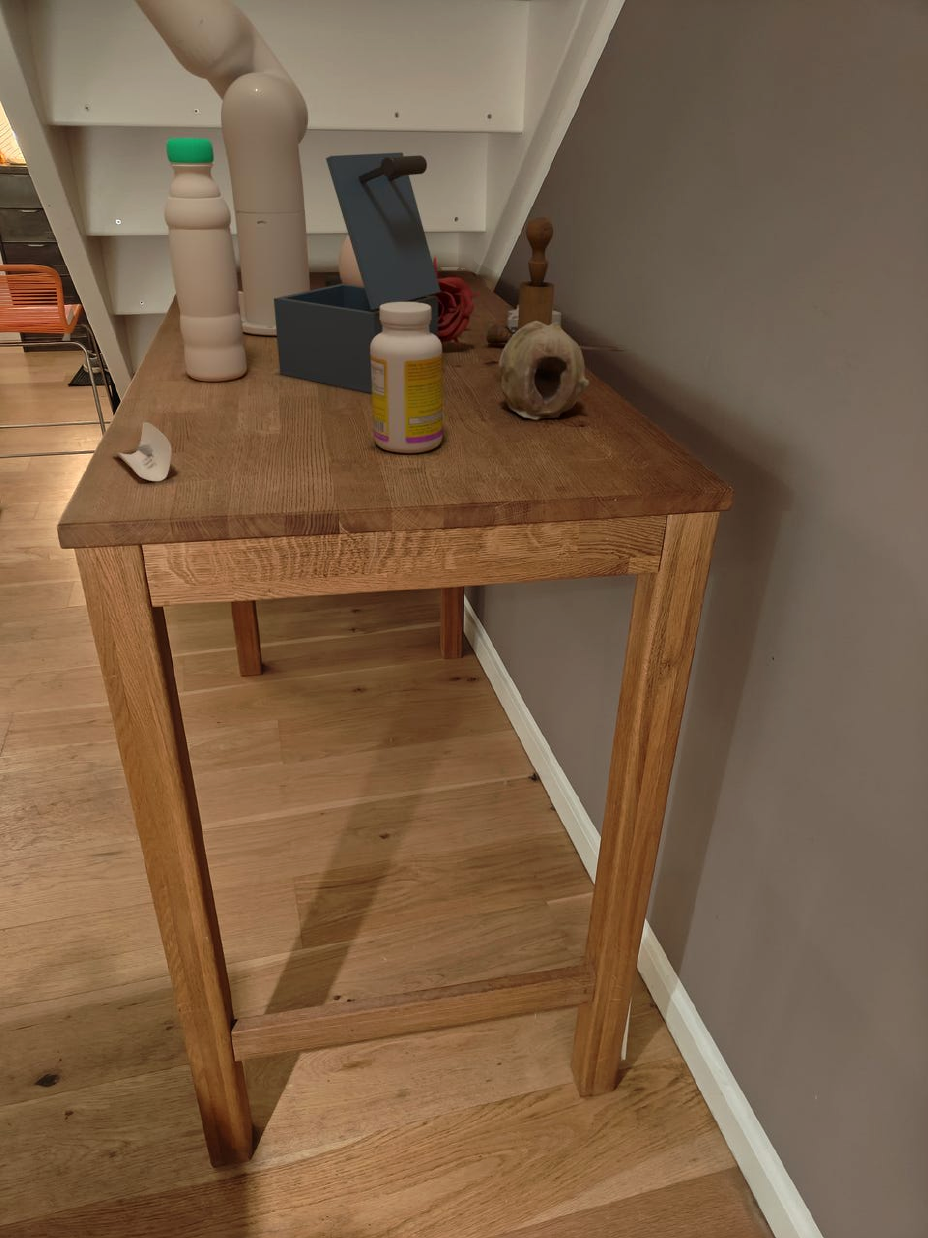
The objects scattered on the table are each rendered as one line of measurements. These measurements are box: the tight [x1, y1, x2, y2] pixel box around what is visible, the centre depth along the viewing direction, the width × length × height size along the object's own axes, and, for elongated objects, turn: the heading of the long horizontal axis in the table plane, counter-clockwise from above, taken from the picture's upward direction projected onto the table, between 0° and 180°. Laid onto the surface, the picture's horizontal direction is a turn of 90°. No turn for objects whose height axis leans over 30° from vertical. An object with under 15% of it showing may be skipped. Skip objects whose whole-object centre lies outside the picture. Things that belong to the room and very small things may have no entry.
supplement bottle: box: [370, 302, 443, 454], centre depth 82 cm, size 7×7×13 cm
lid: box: [325, 152, 441, 310], centre depth 96 cm, size 15×13×6 cm
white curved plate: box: [109, 421, 173, 482], centre depth 78 cm, size 4×8×3 cm
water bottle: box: [163, 137, 248, 383], centre depth 99 cm, size 7×7×25 cm
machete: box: [486, 322, 629, 353], centre depth 120 cm, size 21×3×5 cm
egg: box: [338, 234, 364, 287], centre depth 143 cm, size 9×9×12 cm
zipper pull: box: [506, 304, 562, 333], centre depth 125 cm, size 8×18×4 cm, turn 168°
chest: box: [274, 284, 438, 394], centre depth 106 cm, size 15×13×9 cm
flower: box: [429, 256, 482, 350], centre depth 126 cm, size 13×12×30 cm
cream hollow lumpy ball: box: [498, 321, 590, 421], centre depth 93 cm, size 9×8×10 cm
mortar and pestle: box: [518, 217, 555, 330], centre depth 101 cm, size 7×6×18 cm
